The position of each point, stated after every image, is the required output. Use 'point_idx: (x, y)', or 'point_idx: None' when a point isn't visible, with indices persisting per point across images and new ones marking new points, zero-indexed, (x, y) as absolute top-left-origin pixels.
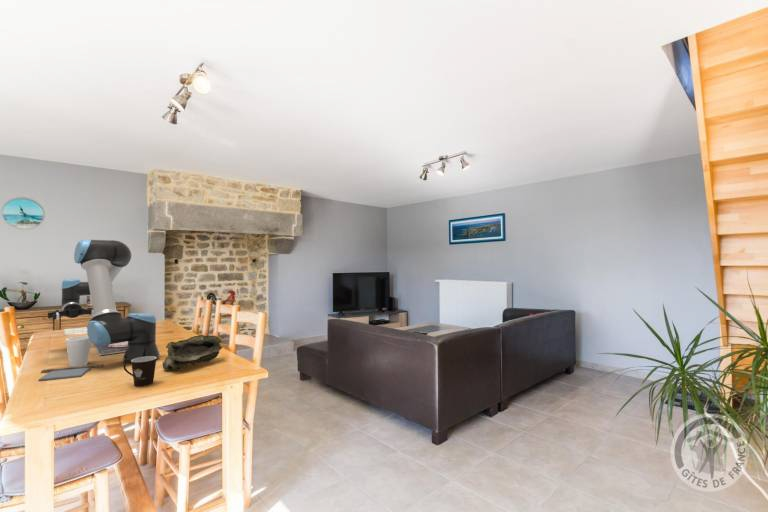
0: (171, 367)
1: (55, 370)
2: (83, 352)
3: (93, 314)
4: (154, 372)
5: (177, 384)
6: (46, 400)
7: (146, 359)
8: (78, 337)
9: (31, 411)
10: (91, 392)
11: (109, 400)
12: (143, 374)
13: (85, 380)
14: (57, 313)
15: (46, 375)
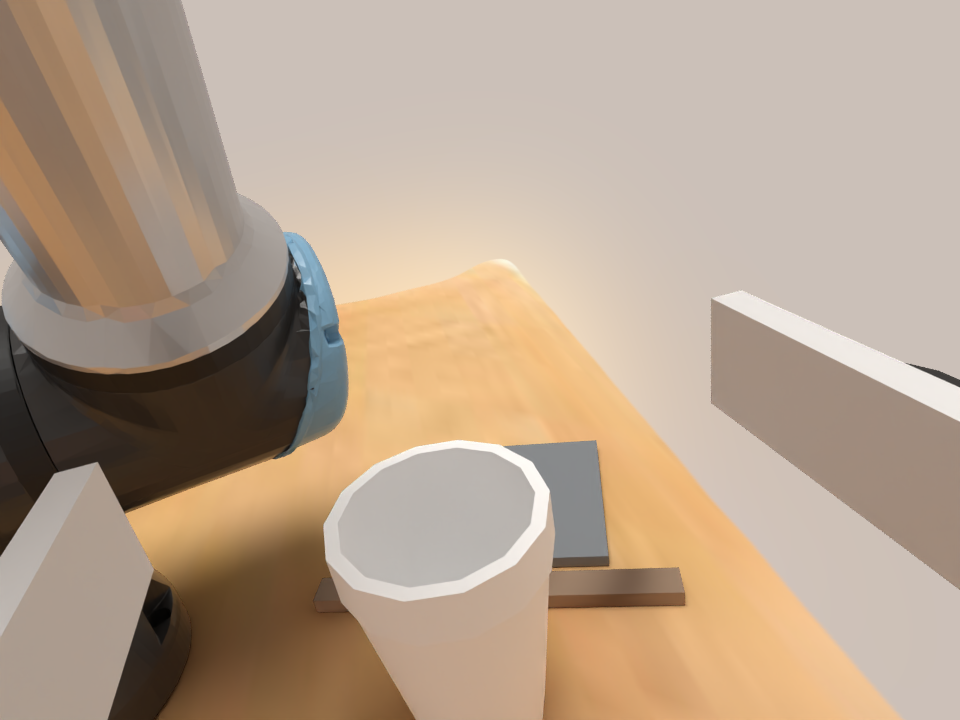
0: None
1: (592, 575)
2: (418, 567)
3: (125, 521)
4: None
5: None
6: (481, 320)
7: None
8: (454, 588)
9: (491, 288)
10: (378, 341)
11: (341, 307)
12: None
13: (402, 420)
14: (844, 348)
15: (589, 483)
